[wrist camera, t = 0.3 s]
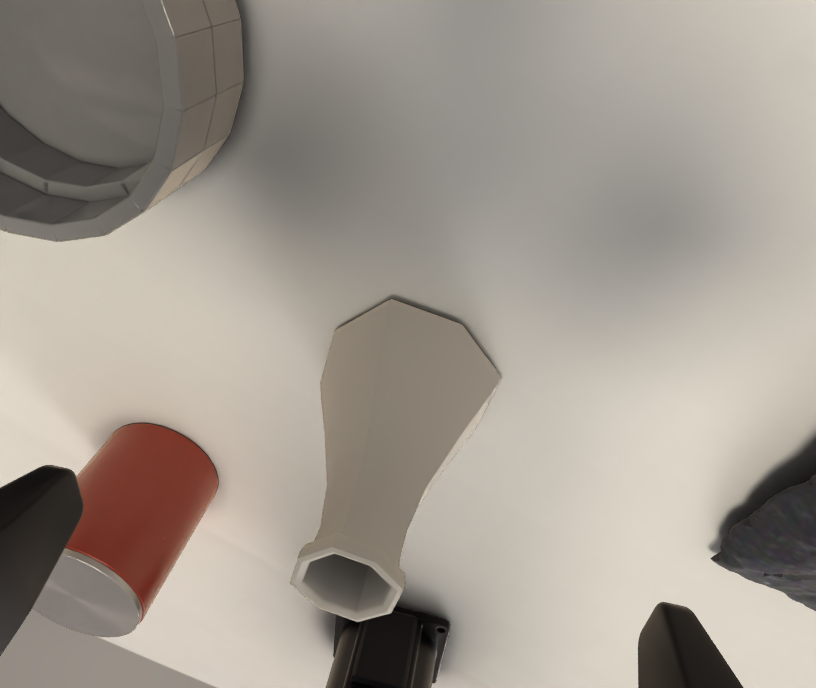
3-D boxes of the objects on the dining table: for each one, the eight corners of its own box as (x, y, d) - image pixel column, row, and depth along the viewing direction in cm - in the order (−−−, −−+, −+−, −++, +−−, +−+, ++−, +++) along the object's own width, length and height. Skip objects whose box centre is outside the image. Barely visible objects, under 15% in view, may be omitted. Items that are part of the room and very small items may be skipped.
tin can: (222, 517, 33) (149, 650, 27) (118, 494, 33) (23, 619, 27) (213, 437, 30) (128, 568, 23) (98, 412, 30) (-16, 534, 24)
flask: (294, 379, 27) (184, 578, 18) (386, 264, 23) (297, 452, 14) (427, 465, 28) (379, 685, 20) (534, 372, 24) (530, 598, 16)
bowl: (255, 214, 22) (200, 269, 19) (-23, 164, 23) (-128, 208, 20) (240, -185, 16) (150, -220, 12) (-143, -230, 17) (-333, -275, 13)
